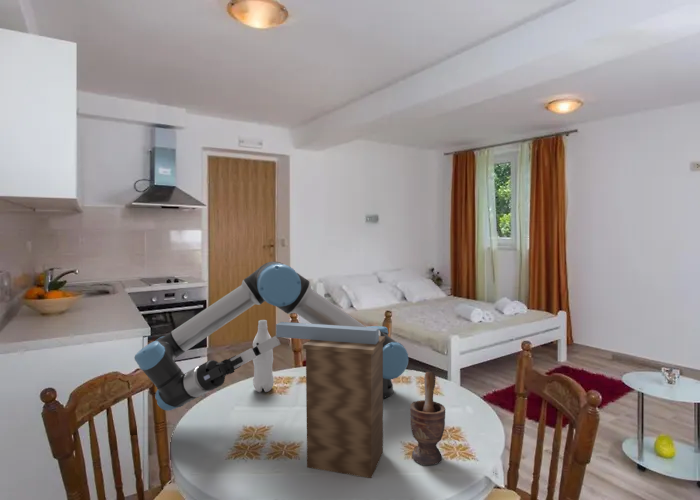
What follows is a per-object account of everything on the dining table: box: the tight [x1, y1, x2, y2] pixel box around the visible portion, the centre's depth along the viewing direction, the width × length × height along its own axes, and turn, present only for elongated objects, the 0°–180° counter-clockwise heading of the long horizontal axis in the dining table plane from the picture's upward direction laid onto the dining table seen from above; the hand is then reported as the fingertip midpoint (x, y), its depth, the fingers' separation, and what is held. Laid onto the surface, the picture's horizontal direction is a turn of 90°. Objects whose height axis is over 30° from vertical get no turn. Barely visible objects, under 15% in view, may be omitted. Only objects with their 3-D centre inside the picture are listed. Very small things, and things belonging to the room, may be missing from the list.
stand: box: [302, 336, 385, 479], centre depth 106 cm, size 17×13×30 cm
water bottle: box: [252, 319, 275, 393], centre depth 153 cm, size 7×7×25 cm
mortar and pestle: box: [409, 371, 446, 466], centre depth 109 cm, size 12×9×20 cm
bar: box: [275, 321, 379, 344], centre depth 107 cm, size 26×3×3 cm, turn 73°
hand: (266, 346), depth 112 cm, fingers open, 13 cm apart
